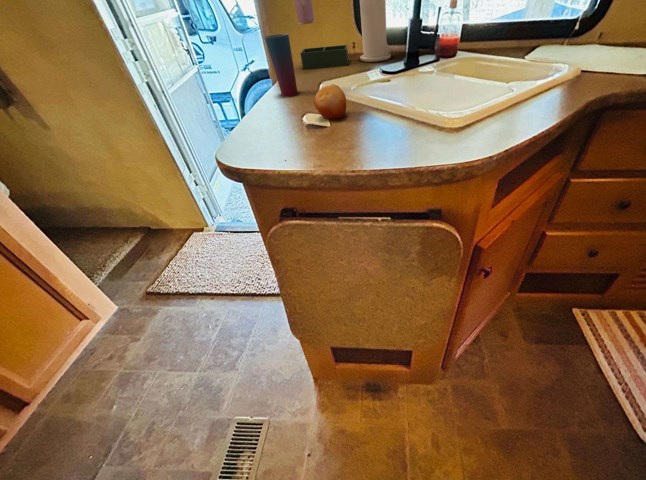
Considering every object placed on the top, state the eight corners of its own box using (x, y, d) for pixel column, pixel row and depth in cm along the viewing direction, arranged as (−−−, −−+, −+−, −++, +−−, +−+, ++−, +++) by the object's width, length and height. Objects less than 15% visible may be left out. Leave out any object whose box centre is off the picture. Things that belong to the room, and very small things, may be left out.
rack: (348, 60, 130) (347, 44, 126) (347, 65, 123) (345, 49, 119) (306, 64, 130) (303, 48, 127) (303, 69, 124) (300, 53, 120)
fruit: (353, 103, 83) (345, 78, 75) (347, 129, 81) (338, 105, 74) (325, 103, 85) (315, 78, 77) (319, 128, 83) (307, 105, 76)
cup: (298, 96, 97) (285, 36, 86) (277, 98, 97) (261, 38, 87) (302, 90, 102) (290, 32, 91) (281, 91, 102) (267, 34, 92)
